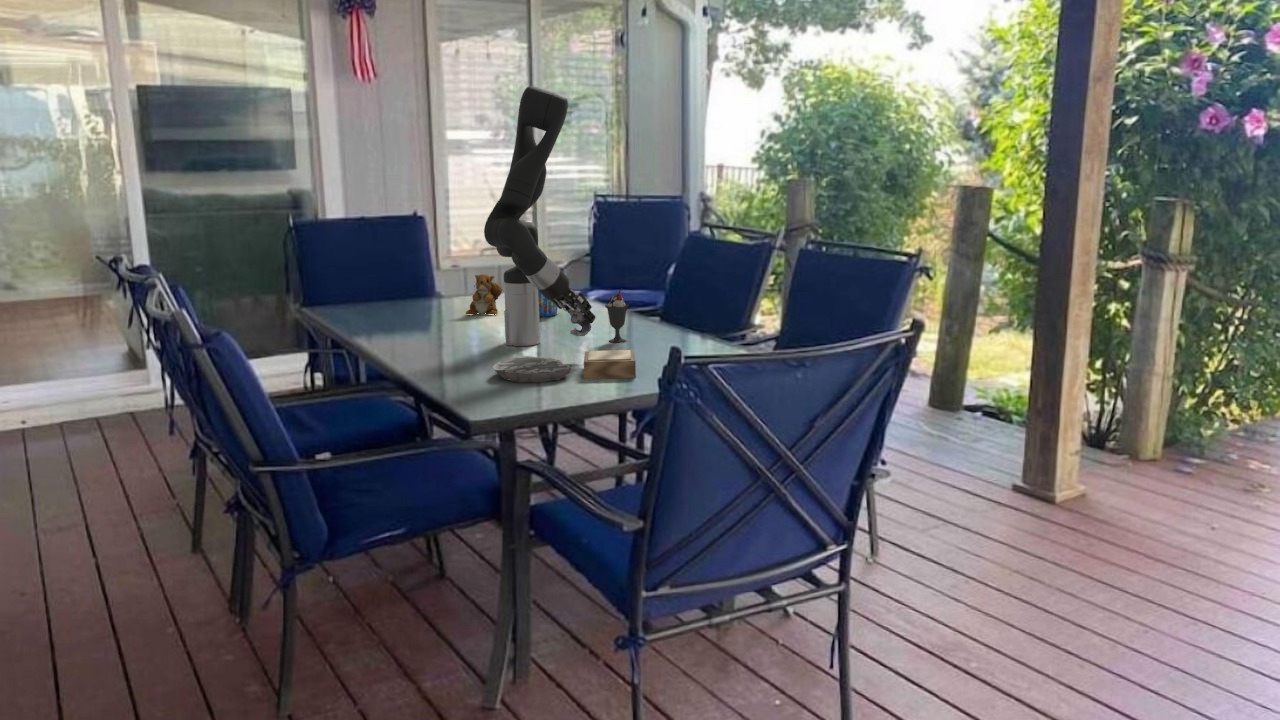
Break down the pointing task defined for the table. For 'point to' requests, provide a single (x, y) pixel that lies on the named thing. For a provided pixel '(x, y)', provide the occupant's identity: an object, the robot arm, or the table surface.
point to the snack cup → (546, 306)
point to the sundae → (617, 315)
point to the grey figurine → (580, 320)
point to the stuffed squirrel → (485, 295)
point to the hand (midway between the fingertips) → (585, 318)
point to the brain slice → (531, 369)
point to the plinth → (609, 364)
